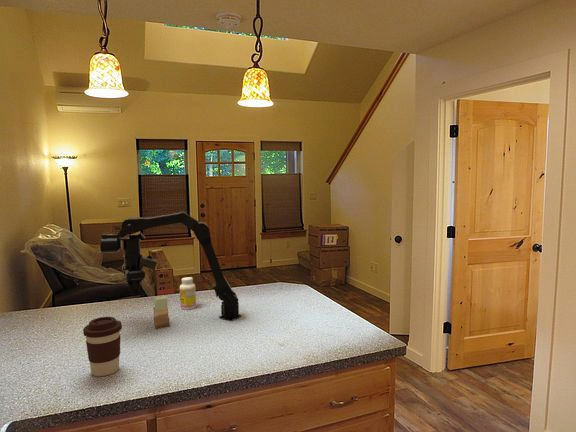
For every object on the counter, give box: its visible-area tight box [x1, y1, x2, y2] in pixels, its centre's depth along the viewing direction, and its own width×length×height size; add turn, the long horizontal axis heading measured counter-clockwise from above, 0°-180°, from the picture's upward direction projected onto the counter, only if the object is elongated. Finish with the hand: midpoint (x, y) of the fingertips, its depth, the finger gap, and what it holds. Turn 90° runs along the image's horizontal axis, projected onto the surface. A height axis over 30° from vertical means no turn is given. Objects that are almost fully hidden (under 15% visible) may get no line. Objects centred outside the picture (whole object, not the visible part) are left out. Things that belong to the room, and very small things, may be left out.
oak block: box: [153, 306, 169, 320], centre depth 145 cm, size 4×4×4 cm
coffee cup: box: [82, 316, 123, 377], centre depth 110 cm, size 10×10×15 cm
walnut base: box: [153, 315, 171, 330], centre depth 146 cm, size 5×5×4 cm
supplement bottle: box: [179, 276, 197, 310], centre depth 166 cm, size 7×7×13 cm
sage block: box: [153, 295, 169, 310], centre depth 145 cm, size 4×4×4 cm
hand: (134, 292), depth 144 cm, fingers open, 9 cm apart
